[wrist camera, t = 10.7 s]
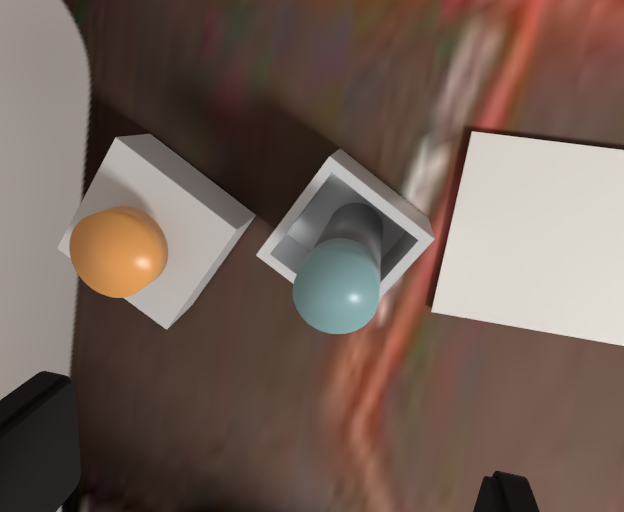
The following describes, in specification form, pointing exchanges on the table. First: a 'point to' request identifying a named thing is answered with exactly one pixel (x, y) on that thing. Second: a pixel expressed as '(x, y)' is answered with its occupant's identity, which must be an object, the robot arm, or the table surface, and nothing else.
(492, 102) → the table surface
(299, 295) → the marker
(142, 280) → the button
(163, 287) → the button box
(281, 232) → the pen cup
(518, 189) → the paper
